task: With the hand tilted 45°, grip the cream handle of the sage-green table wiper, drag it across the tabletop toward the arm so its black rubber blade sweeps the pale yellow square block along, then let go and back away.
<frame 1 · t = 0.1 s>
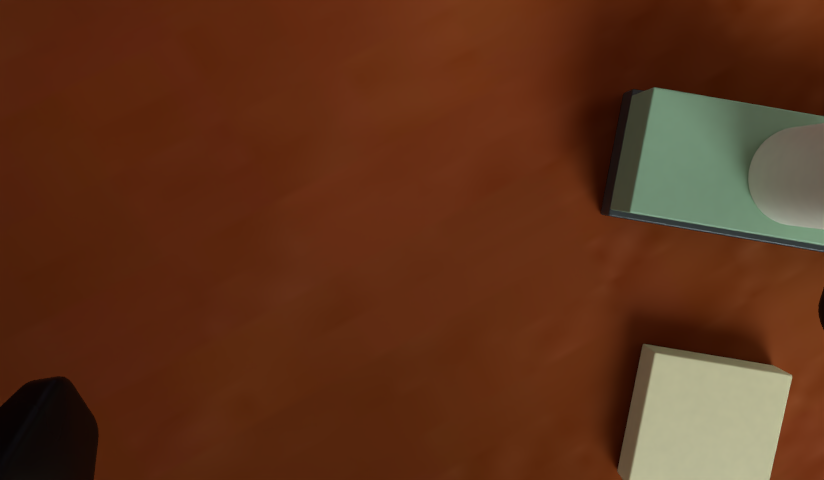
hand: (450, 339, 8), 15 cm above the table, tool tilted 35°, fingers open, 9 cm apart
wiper: (746, 176, 23), on the table
pale yellow square block: (694, 418, 24), on the table
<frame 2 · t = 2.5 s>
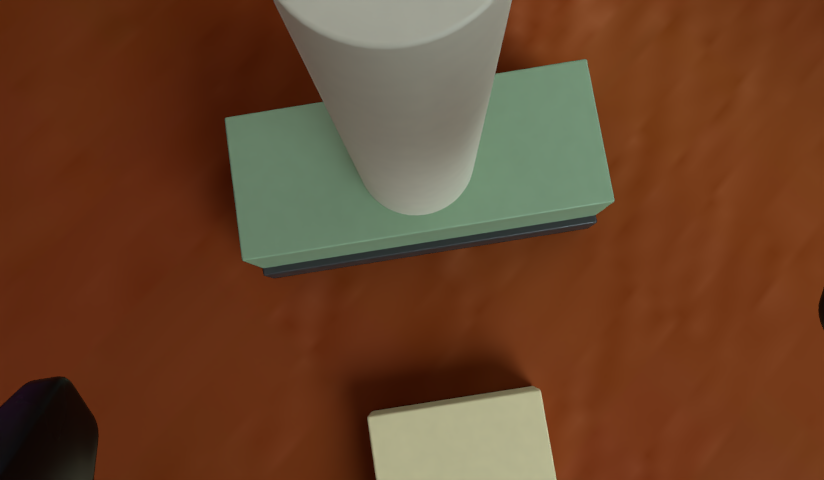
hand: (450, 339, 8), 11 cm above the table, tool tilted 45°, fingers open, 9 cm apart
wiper: (419, 184, 20), on the table
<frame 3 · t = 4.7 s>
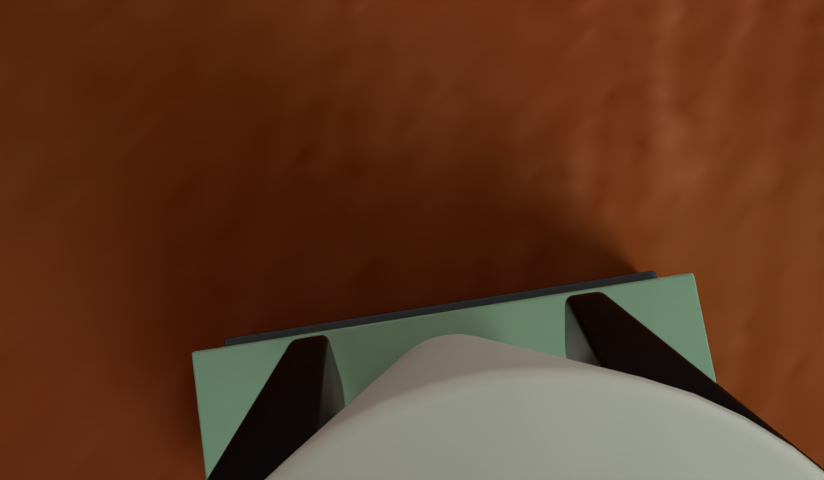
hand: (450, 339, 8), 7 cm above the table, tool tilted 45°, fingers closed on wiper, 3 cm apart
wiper: (453, 397, 15), on the table, touching gripper
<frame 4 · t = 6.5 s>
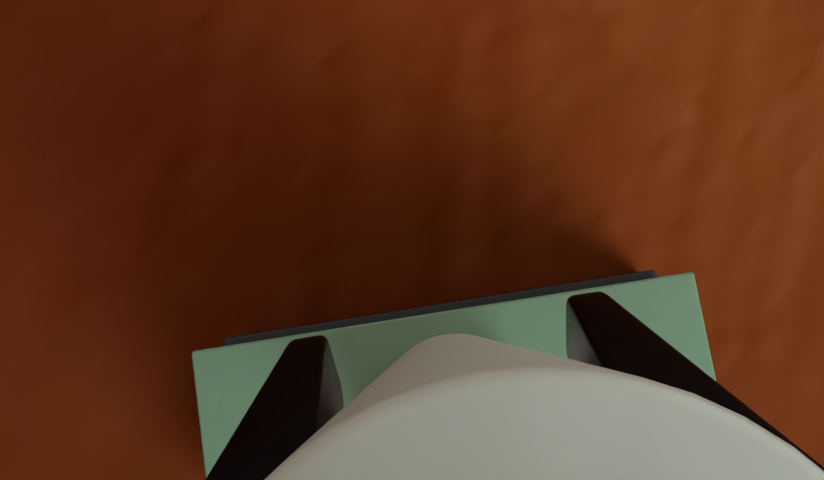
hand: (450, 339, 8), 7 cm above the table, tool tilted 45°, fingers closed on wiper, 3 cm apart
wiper: (453, 397, 15), on the table, touching gripper
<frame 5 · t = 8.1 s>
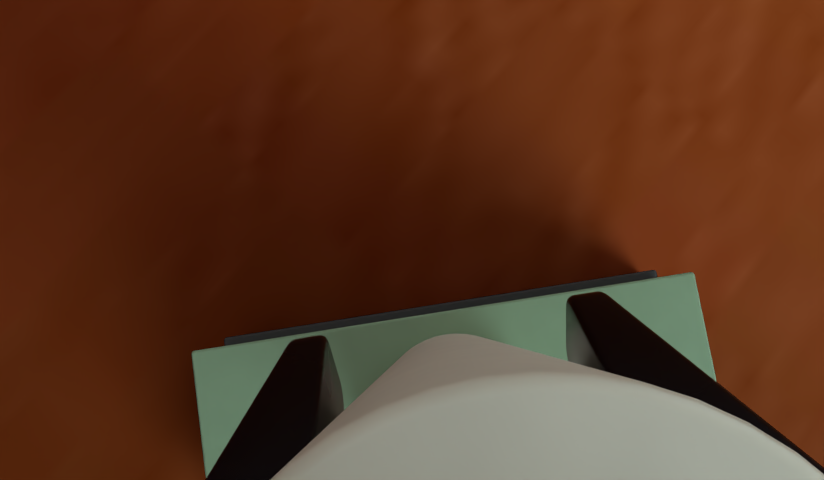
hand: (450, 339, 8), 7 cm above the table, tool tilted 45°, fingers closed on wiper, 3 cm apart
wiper: (453, 397, 15), on the table, touching pale yellow square block, gripper
when the fingers open (7 cm above the table, at t = 8.3 s): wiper stays where it is, on the table.
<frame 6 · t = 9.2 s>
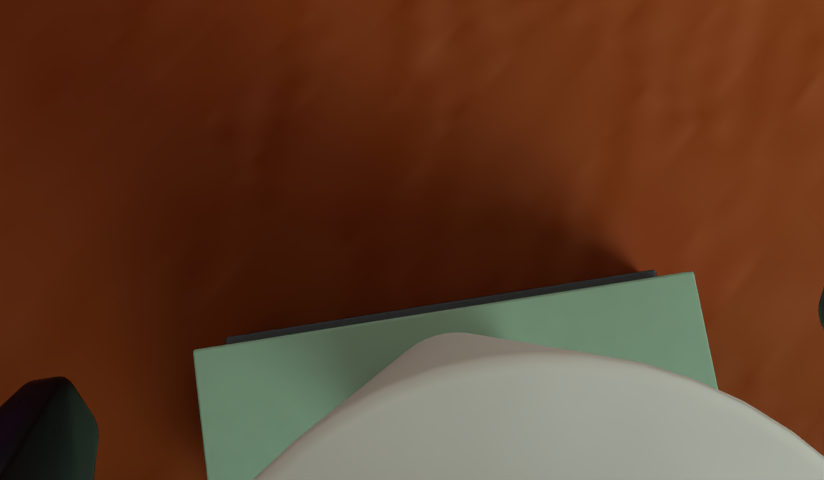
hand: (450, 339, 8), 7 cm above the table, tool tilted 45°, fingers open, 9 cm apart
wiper: (453, 396, 15), on the table
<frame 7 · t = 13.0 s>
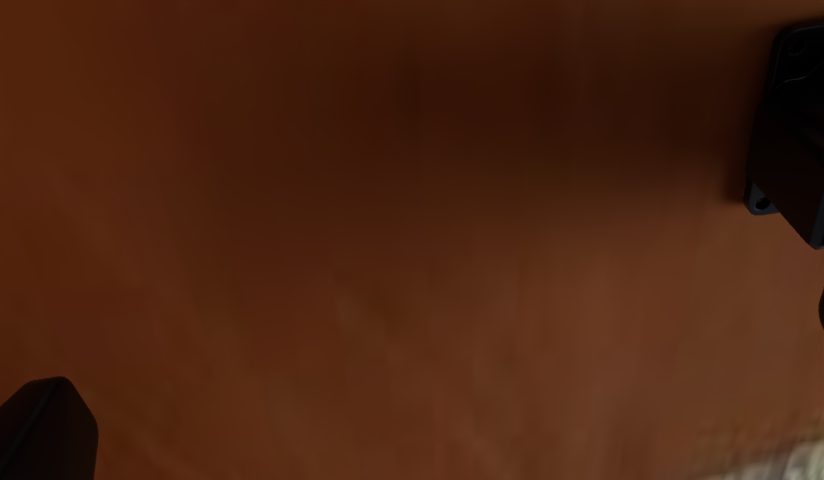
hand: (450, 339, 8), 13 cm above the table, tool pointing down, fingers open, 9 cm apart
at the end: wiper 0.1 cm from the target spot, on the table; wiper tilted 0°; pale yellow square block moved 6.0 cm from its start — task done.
